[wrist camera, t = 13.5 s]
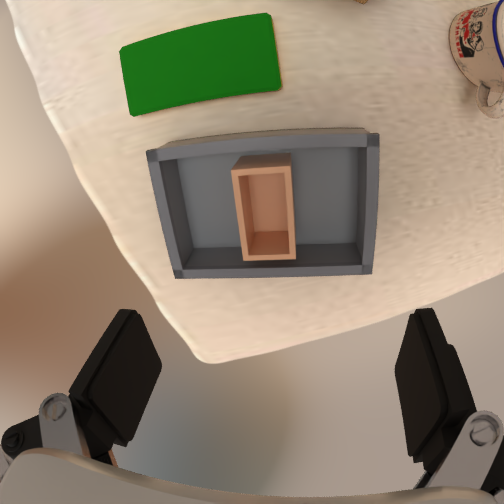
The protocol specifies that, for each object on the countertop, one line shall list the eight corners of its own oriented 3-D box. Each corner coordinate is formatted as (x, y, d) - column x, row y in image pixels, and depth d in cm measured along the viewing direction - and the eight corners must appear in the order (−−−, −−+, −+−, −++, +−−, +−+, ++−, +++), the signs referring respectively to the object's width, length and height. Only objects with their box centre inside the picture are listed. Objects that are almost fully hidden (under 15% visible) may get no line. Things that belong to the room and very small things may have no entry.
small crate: (290, 152, 27) (290, 166, 23) (295, 232, 31) (295, 259, 27) (240, 156, 28) (230, 170, 23) (250, 234, 32) (243, 260, 27)
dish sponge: (130, 49, 24) (118, 48, 22) (272, 17, 22) (270, 11, 20) (141, 114, 28) (129, 117, 25) (282, 89, 25) (282, 89, 23)
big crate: (364, 125, 25) (379, 134, 21) (362, 246, 31) (371, 274, 27) (167, 140, 28) (145, 151, 24) (189, 252, 34) (175, 278, 30)
